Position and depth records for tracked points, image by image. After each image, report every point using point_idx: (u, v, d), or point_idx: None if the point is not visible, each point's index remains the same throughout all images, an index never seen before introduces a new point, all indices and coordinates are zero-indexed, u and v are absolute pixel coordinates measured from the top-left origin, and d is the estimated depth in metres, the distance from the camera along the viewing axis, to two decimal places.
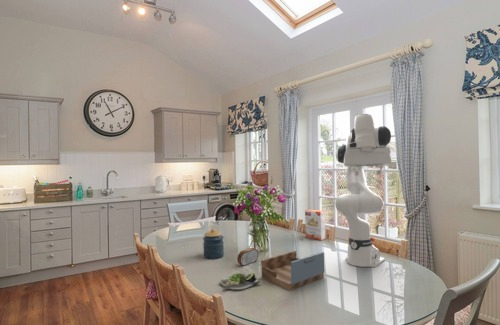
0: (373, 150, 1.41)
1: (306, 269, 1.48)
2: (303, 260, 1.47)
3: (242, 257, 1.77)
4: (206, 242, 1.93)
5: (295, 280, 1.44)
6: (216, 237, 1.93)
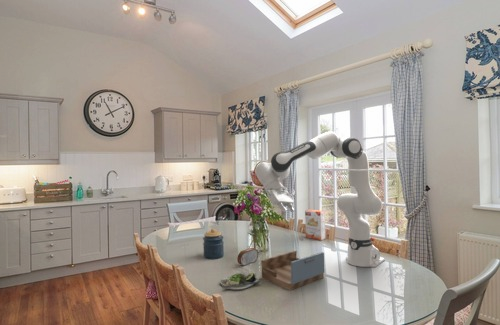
0: None
1: (306, 269, 1.48)
2: (303, 260, 1.47)
3: (242, 257, 1.77)
4: (206, 242, 1.93)
5: (295, 280, 1.44)
6: (216, 237, 1.93)
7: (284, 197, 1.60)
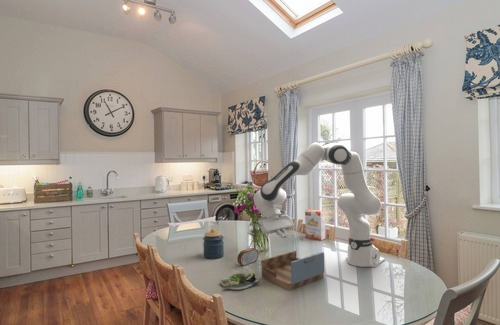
0: None
1: (306, 269, 1.48)
2: (303, 260, 1.47)
3: (242, 257, 1.77)
4: (206, 242, 1.93)
5: (295, 280, 1.44)
6: (216, 237, 1.93)
7: (279, 223, 1.66)
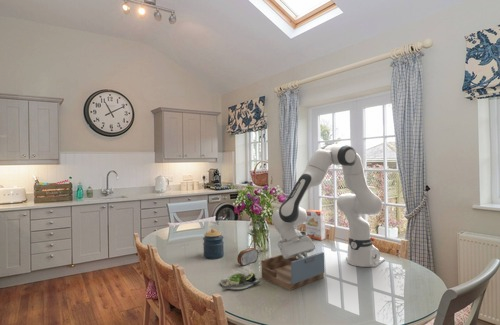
0: None
1: (306, 269, 1.48)
2: (303, 260, 1.47)
3: (242, 257, 1.77)
4: (206, 242, 1.93)
5: (295, 280, 1.44)
6: (216, 237, 1.93)
7: (300, 246, 1.54)
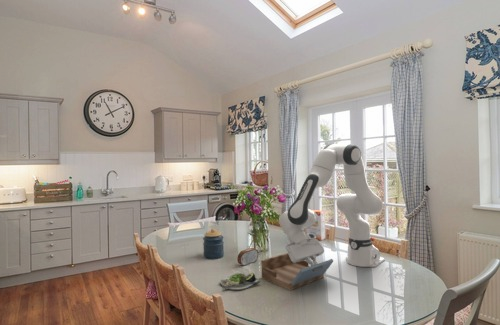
0: None
1: (310, 274, 1.46)
2: (312, 269, 1.43)
3: (242, 257, 1.77)
4: (206, 242, 1.93)
5: (296, 283, 1.43)
6: (216, 237, 1.93)
7: (309, 250, 1.50)
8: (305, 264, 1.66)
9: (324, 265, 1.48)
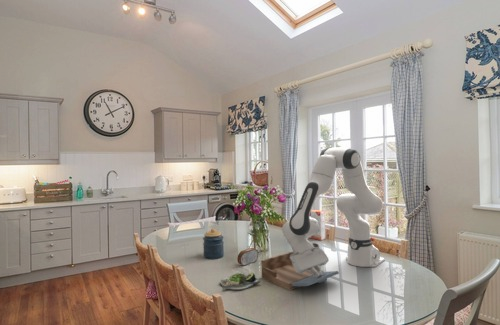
0: None
1: None
2: (317, 281, 1.41)
3: (242, 257, 1.77)
4: (206, 242, 1.93)
5: None
6: (216, 237, 1.93)
7: (313, 259, 1.47)
8: None
9: (328, 276, 1.47)
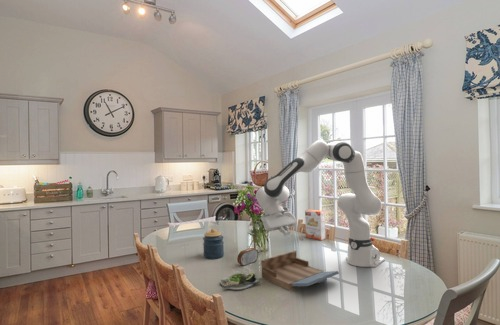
0: None
1: None
2: (317, 281, 1.41)
3: (242, 257, 1.77)
4: (206, 242, 1.93)
5: None
6: (216, 237, 1.93)
7: (282, 220, 1.64)
8: (305, 264, 1.66)
9: (328, 276, 1.47)
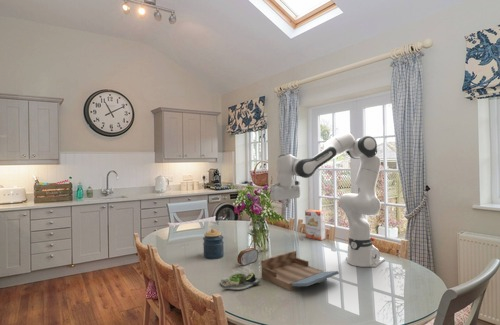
0: None
1: None
2: (317, 281, 1.41)
3: (242, 257, 1.77)
4: (206, 242, 1.93)
5: None
6: (216, 237, 1.93)
7: (288, 194, 1.74)
8: (305, 264, 1.66)
9: (328, 276, 1.47)
